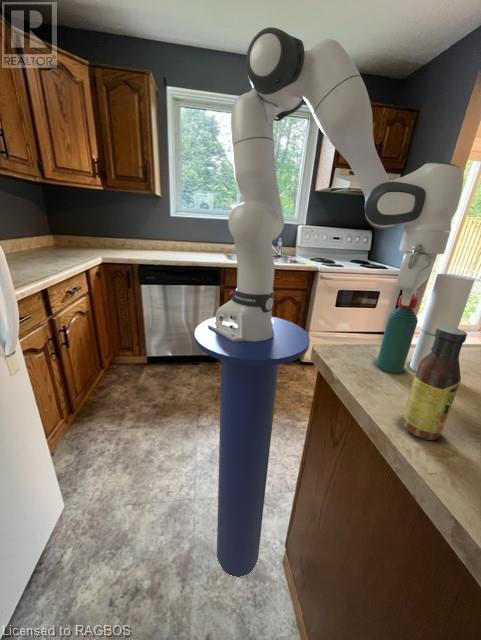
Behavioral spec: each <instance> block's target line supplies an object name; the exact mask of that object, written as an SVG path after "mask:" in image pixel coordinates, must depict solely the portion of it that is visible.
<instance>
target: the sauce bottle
mask: <svg viewBox="0 0 481 640" xmlns="http://www.w3.org/2000/svg"><path fill="white" fill-rule="evenodd" d="M467 337H468V332H466V331H464V330H463V329H459V328H458V329H456V328H452V327H446V326H440V327H437V330H436V333H435V341H434V344H433V347H432V348H431V351H432V352H431V353H430V354H428V355H427V356H425V357H424V358H423V359H422V360H421V361H420V363H419V365H418V369H417V372H415V374H414V378H413V380H412V384H411V387H410V391H409V394H408V398H407V401H406V405H405V408H404V411H403V418H402V425H403V427H404V428H405V430H406V431H408V432H409V433H410V434H412V435H413V436H415V437H417V438H420V439H422V440H427V441H434V440H436V439H438V438H439V437H440V436H441V433H442V432H443V430H444V428H445V426H446V422H447V420H448V416H449V414H450V411H451V409H452V406H453V403H454V400H455V397H456V395H457V393H458V392H457V391H458V389H459V386H460V383H461V380H462V377H461V368H460V366H461V365H460V354H461V350H462V348H463V344H464V343H465V342H466V340H467Z"/></svg>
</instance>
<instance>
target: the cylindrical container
mask: <svg viewBox="0 0 481 640" xmlns="http://www.w3.org/2000/svg"><path fill="white" fill-rule="evenodd" d="M475 280H476V278H474V277H471V276H466V275H461V274H452V273H437V274H436V278H435V280H434V284H433V288H432V292H431V294H430V298H429V301H428V304H427V307H426V311H425V314H424V317H423V321H422V324H421V327H420V331H419V334H418V338H417V341H416V344H415V348H414V351H413V354H412V357H411V360H410V364H409V367H410V369H411V370H412V371H414V372H415V373H417V369H418V365H419V363H420V361H421V360H422V359H423V358H424V357H425V356H427V355H428V354H430V353H431V352H432V351H431V348H432V347H433V344H434V341H435V333H436V330H437V327H440V326H446V327H452V328H456V329H459V326H460V324H461V320H462V317H463V315H464V313H465V309H466V307H467V303H468V300H469V299H470V295H471V292H472V290H473V286H474V284H475Z"/></svg>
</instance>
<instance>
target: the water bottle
mask: <svg viewBox="0 0 481 640" xmlns="http://www.w3.org/2000/svg"><path fill="white" fill-rule="evenodd" d="M418 322H419V321H418V317H417V315H416V314H415V311H414V309H409V308H403V307H400V306H398V307H397V308H395V309H394V310H393V311H391V312H390V313H389V314H388V316H387V320H386V324H385V329H384V331H383V332H384V333H383V336H382V339H381V344H380V348H379V352H378V355H377V360H376V362H375V363H376V366H377V368H379V369H381V370H382V371H384V372H388V373H390V374H391V373H392V374H401V373H403V372H404V369H405V365H406V361H407V359H408V356H409V352H410V349H411V345H412V343H413V339H414V335H415V332H416V329H417V326H418Z"/></svg>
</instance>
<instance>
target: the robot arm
mask: <svg viewBox="0 0 481 640" xmlns="http://www.w3.org/2000/svg"><path fill="white" fill-rule="evenodd" d="M245 69H246V74H247V78H248V80H249V82H250V84H251V87H252V89H250V90H249V92H245V93H243V94H241V95H239V96H238V97H237V98H236V99H235V101H234V102H233V103H232V107H231V116H230V117H231V118H230V142H231V152H232V161H233V163H232V164H233V172H234V181H235V185H236V186H237V188H238V191H239V193H240V196H241V200H242V202H241V203H239V204H237V205H236V206H234V207H233V209H232V210H231V211H230V213H229V216H228V221H227V227H228V230H229V232H230V234H231V237H232V238H233V239H232V240H233V243H234V248H235V255H236V264H237V268H236V270H237V271H236V272H237V273H236V288H235V289H232V290H229V292H230V293H229V295H232V297H231V299H230V300H229V301H227V302H226V303H224V304H222V305H221V306H220V307H218V308H217V309H216V312H215V316H214V318H215V319H214V320H212V321H211V322H209V324H208V327H209V328H211V329H213V330H215V331H216V332H218V333H220V334H221V335H223V336H225V337H227V338H228V339H230V340H232V341H264V340H268V339H270V338H272V337H273V336H274V331H273V326H272V323H273V319H272V317H273V315H272V313H273V312H272V311H273V307H274V296H275V294H274V293H275V292H274V282H275V281H274V280H275V269H276V265H275V260H274V252H273V241H274V240H276V239H277V238H278V237H279V236H280V235H281V234H282V231H283V230H284V227H285V219H284V215H283V208H282V201H281V196H280V191H279V185H278V179H277V172H276V171H277V170H276V155H275V141H274V123H275V122H280V121H282V120H283V119H284V118H286V117H288V116H290V115H292V114H294V113H296V112H298V111H299V110H300V109H301V108H302V107H303V105H304V104H305V103H306V105H308V107H309V109H310V112H311V114H312V116H313V118H314V120H315V122H316V124H317V126H318V127H319V129H320V131H321V132H322V133H323V135H324V136H325V138H326V139H327V140H328V142H329V143H330V144H331V145H332V146H333V147H334V149H335V150H337V152H338V153H339V154H340V155H341V156H342V157H343V159H345V160H344V161H346V162H347V164H348V166H349V167H350V169H351V171H352V172H353V174H354V177H355V178H356V181H357V183H358V185H359V187H360V190H361V191H362V195H363V196H364V215H365V219H366V221H367V222H368V224H369V225H370V226H371V227H373V228H375V229H379V230H388V229H389V230H390V229H391V228H394V227H396V226H397V225H403V226H404V227H403V232H402V236H401V241H400V244H399V249H398V250H399V251H400V252H404V253H403V258H402V261H401V263H400V264H401V265H400V267H399V271H398V274H397V278H396V283H395V288H396V289H397V290H402V292H401V293H402V294H401V295H402V301H401V304H402V305H405V306H409V305H410V304H411V300H412V296H414V297H417V296H416V295H417V293H418V291H419V288H420V286H421V285H423V283H424V282H425V281H427V279H428V278H429V276H430V274H431V272H432V269H433V267H434V264H435V262H436V259H437V257H438V255H444V254H445V251H446V248H447V245H448V241H449V238H450V235H451V231H452V220H453V217H454V216H455V214H456V212H457V210H458V207H459V205H460V200H461V197H462V193H463V186H464V178H465V177H464V175H465V174H464V171H463V169H462V168H461V167H459V165H456V164H454V163H449V162H445V161H444V162H442V161H437V162H433V161H432V162H427V163H425V164H423V165H422V166H420V167H419V168H418V169H416V170H414V171H411V172H410V173H408V174H406V175H403V176H400V177H398V178H395V179H390V178H389V177H388V174H387V172H386V170H385V167H384V165H383V163H382V161H381V158H380V156H379V154H378V152H377V149H376V145H375V139H374V124H373V110H372V104H371V100H370V96H369V93H368V90H367V87H366V84H365V82H364V80H363V78H362V76H361V74H360V72H359V70H358V68H357V66H356V64H355V62H354V60H353V59H352V58H351V56H350V55H349V54H348V52H347V51H346V50H345V47H344V46H342V44H340V42H339V41H337V40H336V39H332V38H328V39H324V40H321V41H320V42H318V43H317V44H315V45H314V47H312V48H311V49H309V50H305V45H304V42H303V40H302V39H299V38H297V37H295V36H293V35H291V34H289V33H287V32H285V31H284V30H282V29H280V28H277V27H266V28H264V29H263V28H262V30H260V31H259V32H258V33H257V34H256V35H255V36H254V37H253V38H252V39H251V42H250V43H249V45H248V48H247V51H246V57H245Z"/></svg>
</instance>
